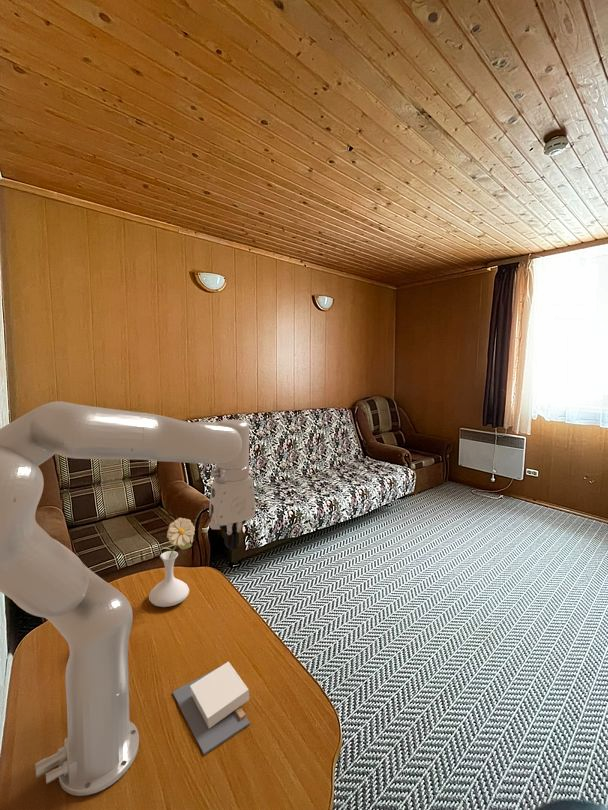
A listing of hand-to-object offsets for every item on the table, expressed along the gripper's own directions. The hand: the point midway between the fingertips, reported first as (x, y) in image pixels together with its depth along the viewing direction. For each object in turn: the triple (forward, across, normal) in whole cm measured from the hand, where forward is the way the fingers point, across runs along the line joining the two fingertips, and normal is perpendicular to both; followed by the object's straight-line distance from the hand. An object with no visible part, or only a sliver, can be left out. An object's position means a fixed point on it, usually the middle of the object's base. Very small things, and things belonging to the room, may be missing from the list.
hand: (231, 547), depth 88 cm
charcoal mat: (+27, -10, -11) cm, 31 cm away
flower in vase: (+27, -4, +29) cm, 40 cm away
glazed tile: (+24, -4, -11) cm, 27 cm away
